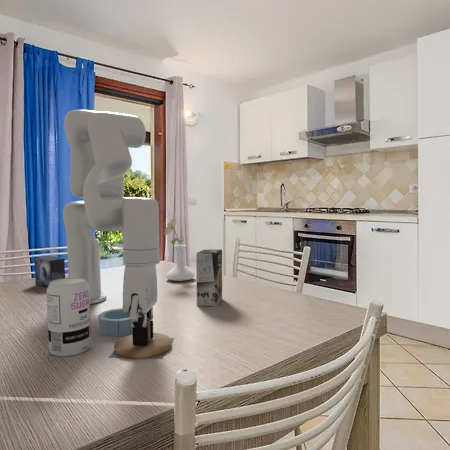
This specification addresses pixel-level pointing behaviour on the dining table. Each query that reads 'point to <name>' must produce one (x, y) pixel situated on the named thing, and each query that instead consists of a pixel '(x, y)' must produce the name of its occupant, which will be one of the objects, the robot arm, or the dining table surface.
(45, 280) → the small box
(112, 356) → the mat
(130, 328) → the bowl
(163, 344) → the lid
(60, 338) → the supplement can
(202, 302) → the coffee box
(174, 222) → the flower in vase
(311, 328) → the dining table surface
